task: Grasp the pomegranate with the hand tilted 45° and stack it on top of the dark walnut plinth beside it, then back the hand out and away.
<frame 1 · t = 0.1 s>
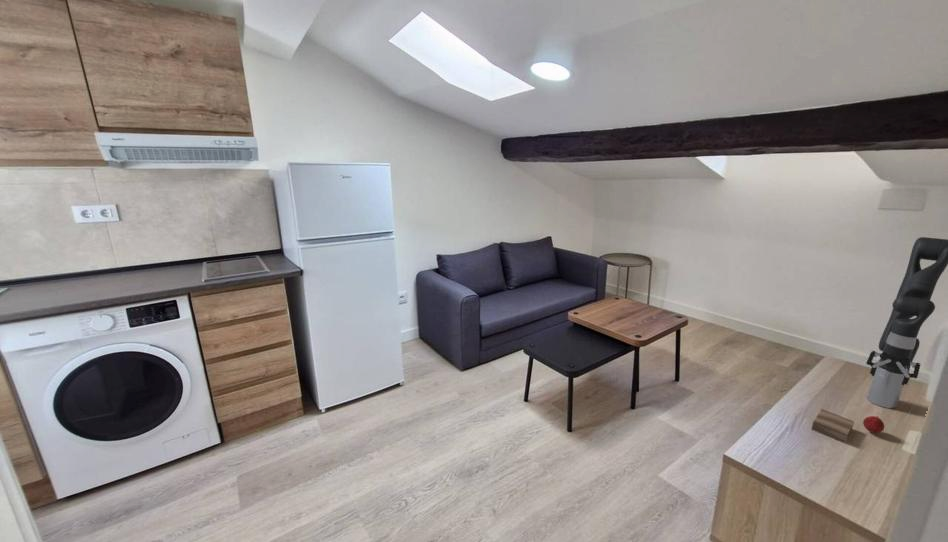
hand: (887, 379, 154), 17 cm above the table, tool pointing down, fingers open, 8 cm apart
plinth: (831, 429, 152), on the table
pomegranate: (870, 432, 150), on the table
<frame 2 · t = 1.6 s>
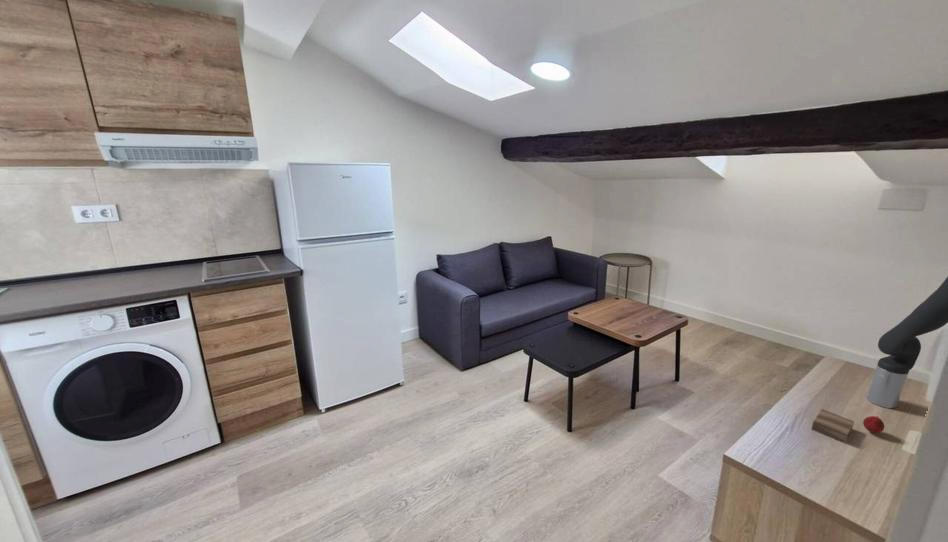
hand: (937, 388, 133), 27 cm above the table, tool tilted 45°, fingers open, 8 cm apart
nothing on the table moved.
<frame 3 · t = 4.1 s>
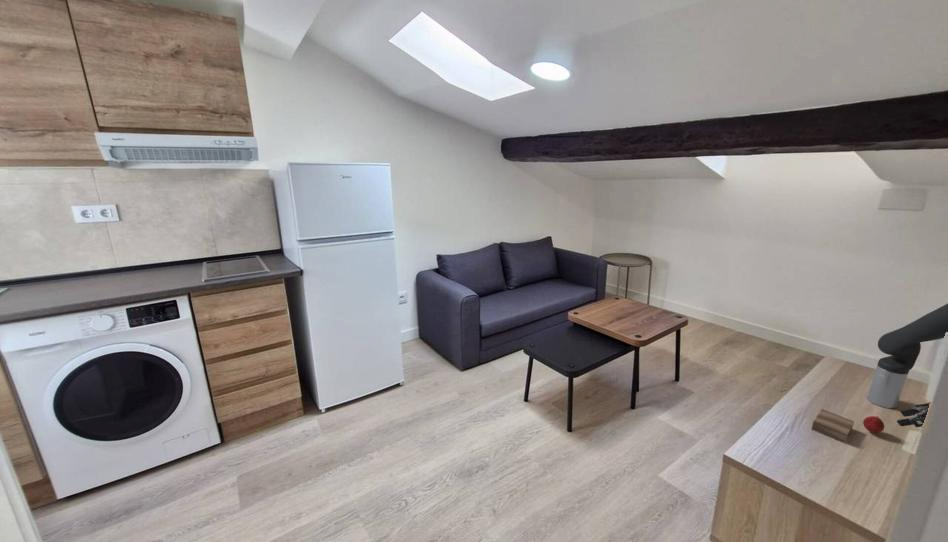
hand: (900, 418, 143), 10 cm above the table, tool tilted 45°, fingers open, 8 cm apart
nothing on the table moved.
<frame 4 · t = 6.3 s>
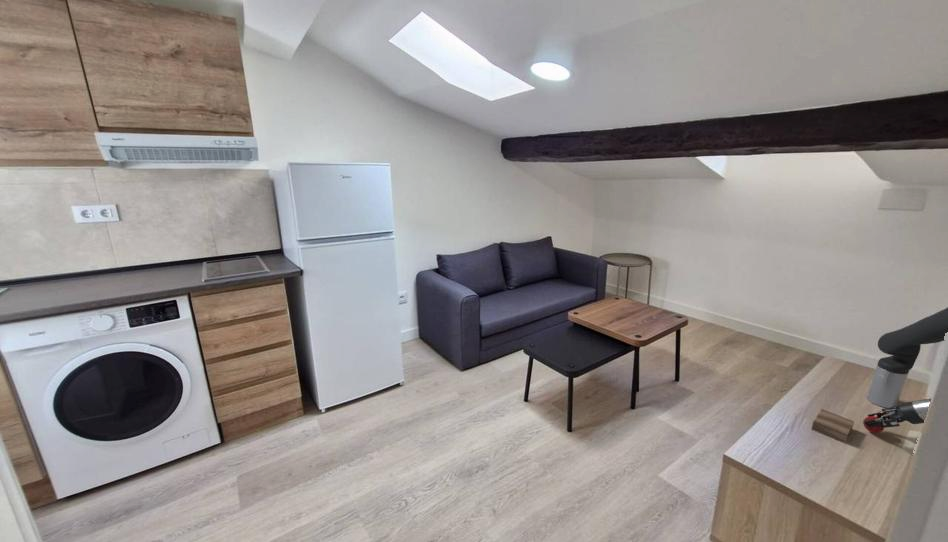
hand: (867, 420, 150), 4 cm above the table, tool tilted 45°, fingers closed on pomegranate, 5 cm apart
pomegranate: (870, 432, 150), on the table, touching gripper
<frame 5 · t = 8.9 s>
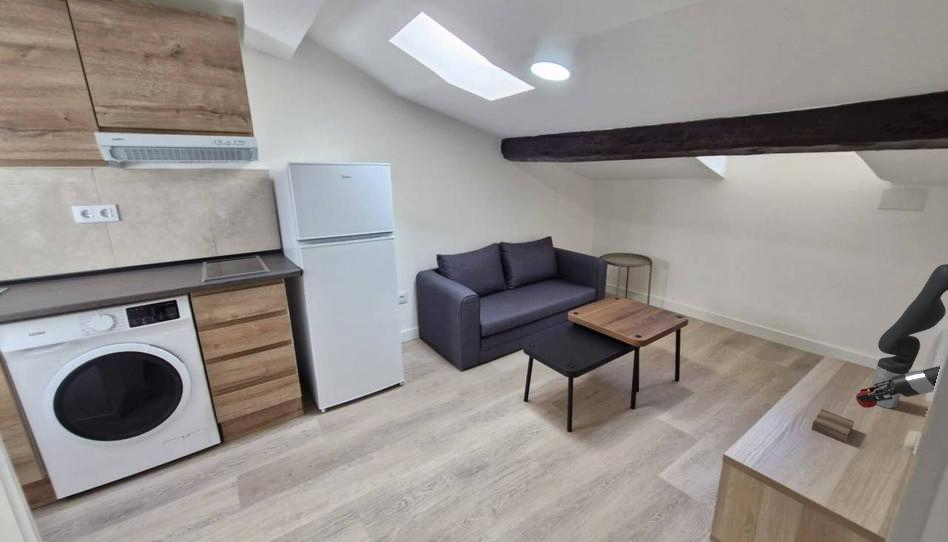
hand: (860, 395, 147), 16 cm above the table, tool tilted 45°, fingers closed on pomegranate, 5 cm apart
pomegranate: (863, 407, 147), point 12 cm above the table, touching gripper
when the fingers open (9 cm above the table, at t = 11.7 s): pomegranate stays where it is, resting on plinth.
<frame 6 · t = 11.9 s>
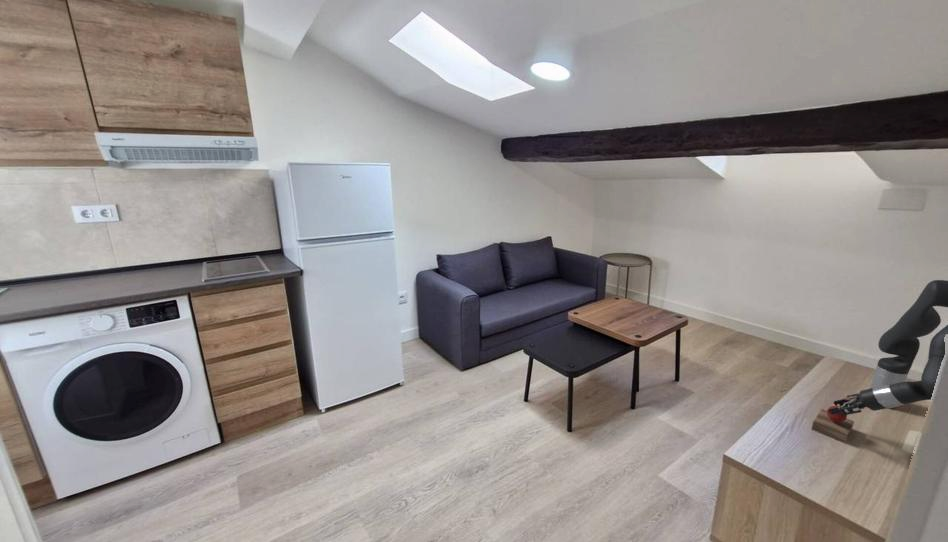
hand: (832, 408, 151), 9 cm above the table, tool tilted 45°, fingers open, 7 cm apart
pomegranate: (834, 421, 151), point 4 cm above the table, touching plinth
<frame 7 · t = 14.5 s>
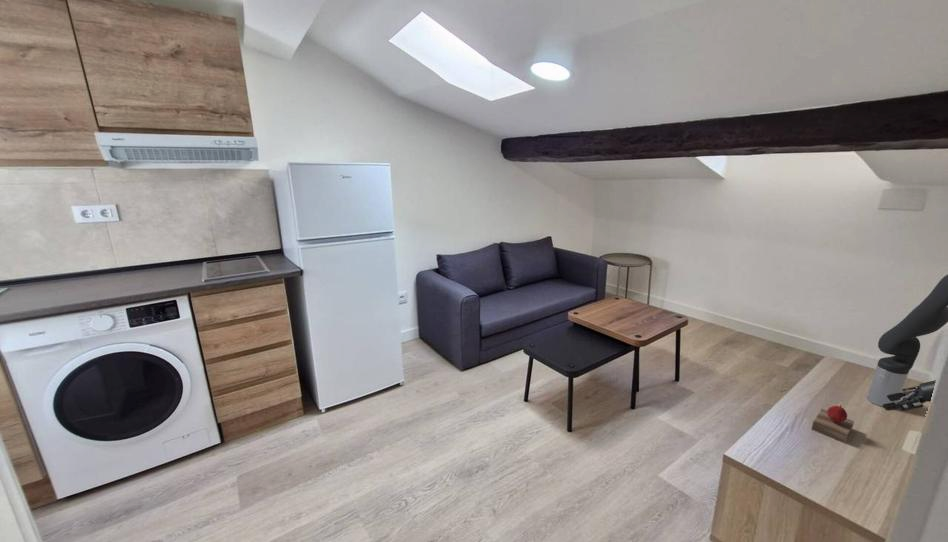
hand: (886, 402, 138), 20 cm above the table, tool tilted 45°, fingers open, 8 cm apart
nothing on the table moved.
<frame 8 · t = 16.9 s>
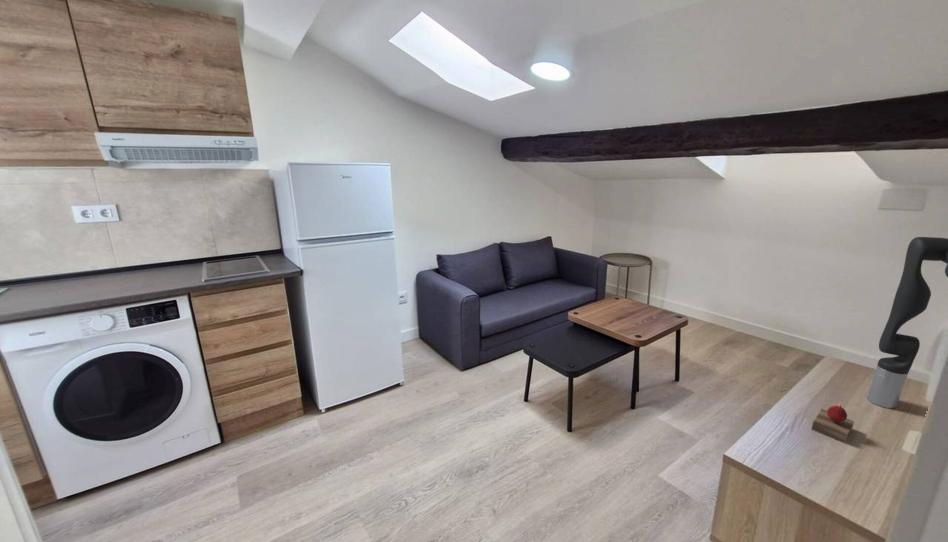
nothing on the table moved.
at the end: pomegranate inside the target area on the plinth (0.2 cm from its centre), point 3.8 cm above the plinth's base; pomegranate touching plinth; the gripper is holding nothing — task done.
